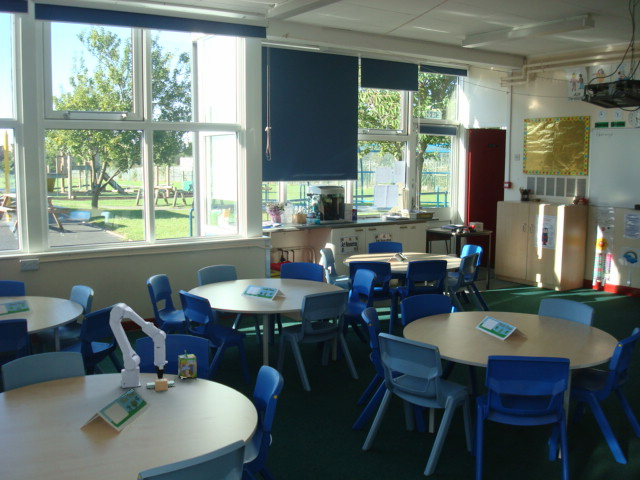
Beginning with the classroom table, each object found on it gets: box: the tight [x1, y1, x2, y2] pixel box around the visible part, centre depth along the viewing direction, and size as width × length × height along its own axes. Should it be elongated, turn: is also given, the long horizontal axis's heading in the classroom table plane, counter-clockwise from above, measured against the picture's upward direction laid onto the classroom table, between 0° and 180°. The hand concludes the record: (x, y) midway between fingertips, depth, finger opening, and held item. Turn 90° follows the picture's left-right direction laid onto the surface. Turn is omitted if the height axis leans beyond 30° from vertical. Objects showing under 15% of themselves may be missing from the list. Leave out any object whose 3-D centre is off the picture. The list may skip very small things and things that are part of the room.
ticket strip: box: [145, 380, 175, 389], centre depth 338 cm, size 14×5×2 cm, turn 109°
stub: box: [154, 377, 169, 392], centre depth 333 cm, size 6×5×5 cm
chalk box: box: [177, 349, 198, 379], centre depth 356 cm, size 9×9×15 cm
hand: (160, 379), depth 339 cm, fingers closed
